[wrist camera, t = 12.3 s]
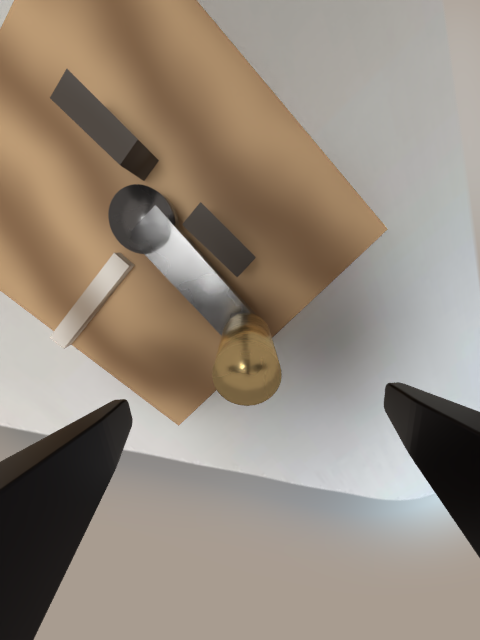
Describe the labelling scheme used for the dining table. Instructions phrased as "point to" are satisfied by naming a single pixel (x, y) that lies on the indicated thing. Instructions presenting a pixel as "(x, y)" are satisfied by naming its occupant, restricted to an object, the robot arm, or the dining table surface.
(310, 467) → the dining table surface
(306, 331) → the dining table surface
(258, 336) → the two-tone long knobbed bar
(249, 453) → the dining table surface
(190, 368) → the lock plate
